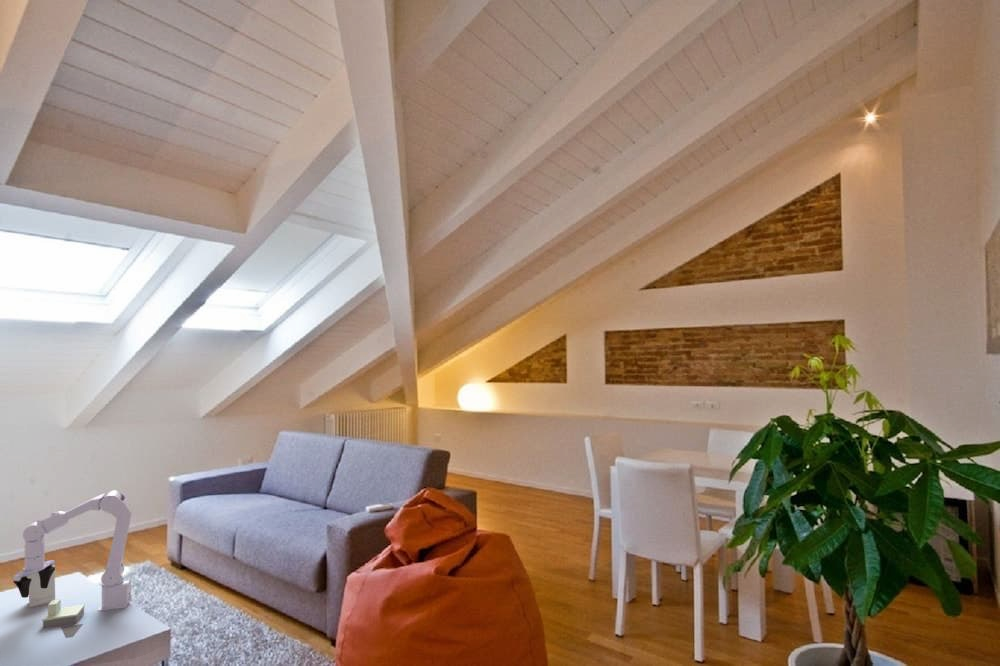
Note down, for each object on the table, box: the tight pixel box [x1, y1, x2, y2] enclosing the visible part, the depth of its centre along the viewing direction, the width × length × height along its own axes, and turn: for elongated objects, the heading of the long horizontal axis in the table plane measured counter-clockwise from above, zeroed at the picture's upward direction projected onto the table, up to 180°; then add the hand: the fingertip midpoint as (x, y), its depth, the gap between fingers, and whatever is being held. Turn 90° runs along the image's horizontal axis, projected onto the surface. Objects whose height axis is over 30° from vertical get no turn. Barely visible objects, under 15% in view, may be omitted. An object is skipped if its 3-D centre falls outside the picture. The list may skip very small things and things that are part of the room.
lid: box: [41, 598, 86, 622], centre depth 208 cm, size 10×8×5 cm
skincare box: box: [27, 565, 56, 608], centre depth 223 cm, size 8×6×15 cm
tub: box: [42, 607, 85, 629], centre depth 208 cm, size 10×8×3 cm
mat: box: [60, 623, 84, 639], centre depth 198 cm, size 12×10×1 cm
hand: (34, 592), depth 210 cm, fingers open, 7 cm apart
